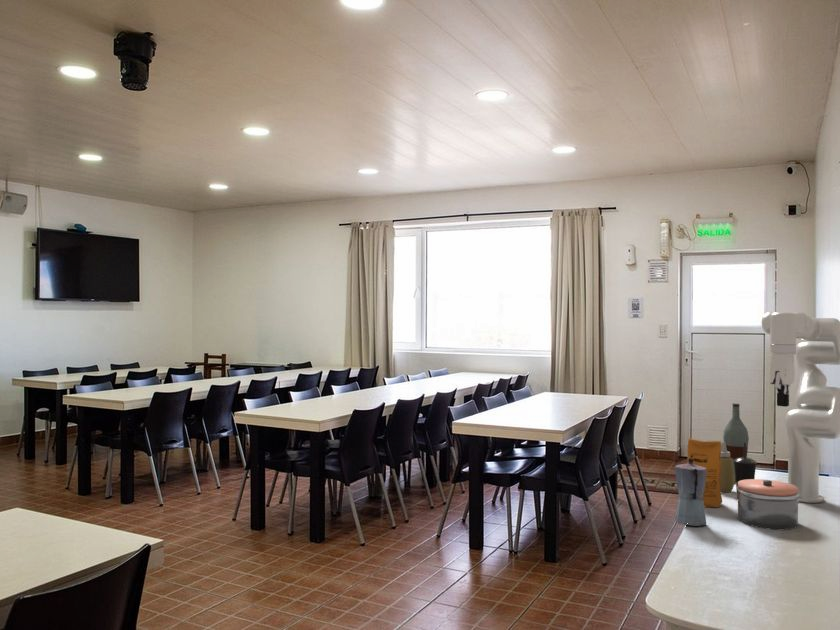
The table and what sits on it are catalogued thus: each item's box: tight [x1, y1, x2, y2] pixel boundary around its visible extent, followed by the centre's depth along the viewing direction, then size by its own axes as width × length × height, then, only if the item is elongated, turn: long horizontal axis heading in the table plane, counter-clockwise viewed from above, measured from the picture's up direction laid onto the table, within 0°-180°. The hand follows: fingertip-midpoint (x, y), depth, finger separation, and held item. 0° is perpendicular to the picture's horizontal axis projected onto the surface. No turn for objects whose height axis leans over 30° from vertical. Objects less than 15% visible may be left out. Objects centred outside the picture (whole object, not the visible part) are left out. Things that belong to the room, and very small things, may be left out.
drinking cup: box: [733, 442, 758, 500], centre depth 251 cm, size 8×8×20 cm
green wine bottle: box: [722, 403, 750, 483], centre depth 280 cm, size 9×9×30 cm
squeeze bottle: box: [720, 441, 736, 493], centre depth 263 cm, size 8×8×18 cm
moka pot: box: [674, 458, 707, 527], centre depth 221 cm, size 10×15×20 cm, turn 174°
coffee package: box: [686, 438, 723, 508], centre depth 245 cm, size 10×12×22 cm
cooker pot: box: [736, 486, 799, 530], centre depth 224 cm, size 18×18×10 cm
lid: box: [738, 478, 798, 496], centre depth 224 cm, size 17×17×3 cm
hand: (782, 405), depth 234 cm, fingers closed
